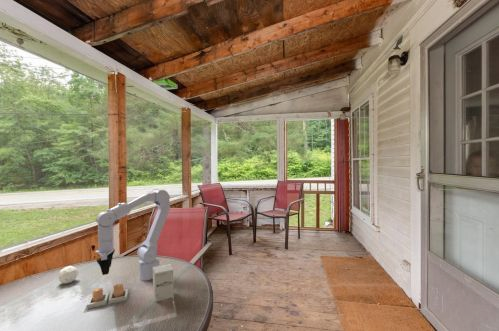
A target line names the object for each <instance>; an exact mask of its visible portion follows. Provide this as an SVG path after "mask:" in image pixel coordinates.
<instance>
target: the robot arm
mask: <svg viewBox="0 0 499 331" xmlns="http://www.w3.org/2000/svg"><path fill="white" fill-rule="evenodd" d="M170 199H171V196H170V194H169V192H168V191H167V190H165V189H158V188H154V189H151V190H148V191H147V192H145V193H143V194H142V195H140V196H138V197H136V198H135V199H133V200H131V201H130V202H127V203H126V202H122V203H121V202H118V203H117V205H115V206H114V207H111V208H107V209H106V211H101V212H100V213H98V215H97V216H96V218H95V221H96V223H97V244H98V245H97V246H98V248H97V250H95V252H94V253H95V254H99V256H100V258H97V259H96V262H97V264H98V266H99V268H100V270H101V274H102V275H103V276H105V275H109V273H110V268H111V267H112V261H113V257H114V256H113V255H114V253H115V252H116V249H115V247H114V246H115V245H114V228H113V227H114V226H113V225H114V223H115V222H116V221H117V220H120V219H122V218H123V217H125V216H127V215H130V213H131V211H132V210H133V209H135V208H137V207H139V206H141V205H143V204H145V203H148V202H154V204H155V205H156V208H158V209H157V212H156V214H155V216H154V219H153V222H152V224H151V227H150V229H149V232H148V234H147V236H146V239H145V240H144V241H143V242H142V244H141V246H139V247H138V249H137V251H136V254H137V255H136V256H138V258H139V260H138V277H139V280H140V281H143V282H145V281H150V280H153V267H156V266H160V259H159V258H157V255H158V254H157V252H158V241H159V238H160V236H161V234H162V230H163V227H164V225H165V223H166V220H167V218H168V215H169V212H170V210H171V203H170Z"/></svg>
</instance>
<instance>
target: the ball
mask: <svg viewBox="0 0 499 331" xmlns="http://www.w3.org/2000/svg"><path fill="white" fill-rule="evenodd" d="M78 275H79V269H77V267H75V266H72V265H69V266H65V267H64V268H62V269H60V271H59V272H58V274H57V276H58V277H57V278H58V281H59V282H60V283H61V284H65V285H67V284H71V283H73V282H74V281H75V280H76V279H77V277H78Z"/></svg>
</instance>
